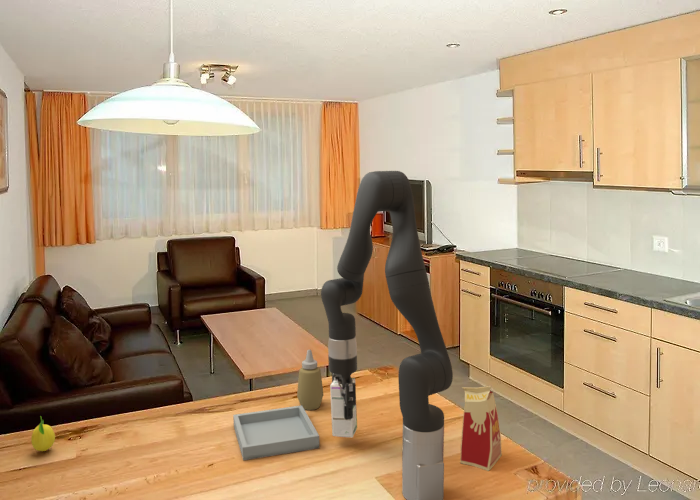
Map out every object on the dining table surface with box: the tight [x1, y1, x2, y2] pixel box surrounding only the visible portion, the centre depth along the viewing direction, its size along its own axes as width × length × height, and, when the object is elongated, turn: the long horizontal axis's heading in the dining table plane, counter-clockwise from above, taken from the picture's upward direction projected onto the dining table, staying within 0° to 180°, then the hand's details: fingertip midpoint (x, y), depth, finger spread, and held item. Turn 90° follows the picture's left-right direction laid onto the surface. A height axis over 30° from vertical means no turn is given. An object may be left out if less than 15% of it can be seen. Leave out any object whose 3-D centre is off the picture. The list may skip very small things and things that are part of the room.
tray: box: [232, 405, 320, 461], centre depth 165 cm, size 20×20×4 cm
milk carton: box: [459, 385, 503, 472], centre depth 151 cm, size 9×9×20 cm
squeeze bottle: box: [296, 349, 324, 411], centre depth 183 cm, size 8×8×18 cm
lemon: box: [30, 415, 56, 452], centre depth 157 cm, size 7×6×10 cm
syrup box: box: [329, 377, 358, 439], centre depth 160 cm, size 6×6×14 cm
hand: (343, 412), depth 160 cm, fingers closed on syrup box, 7 cm apart
